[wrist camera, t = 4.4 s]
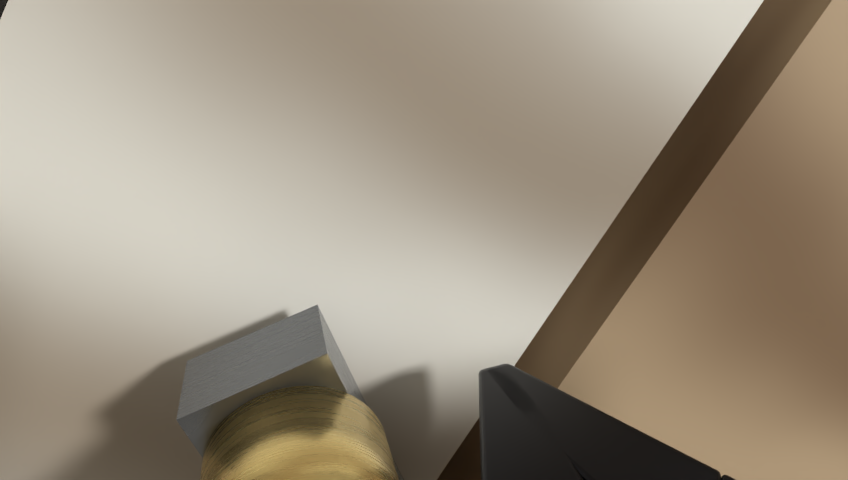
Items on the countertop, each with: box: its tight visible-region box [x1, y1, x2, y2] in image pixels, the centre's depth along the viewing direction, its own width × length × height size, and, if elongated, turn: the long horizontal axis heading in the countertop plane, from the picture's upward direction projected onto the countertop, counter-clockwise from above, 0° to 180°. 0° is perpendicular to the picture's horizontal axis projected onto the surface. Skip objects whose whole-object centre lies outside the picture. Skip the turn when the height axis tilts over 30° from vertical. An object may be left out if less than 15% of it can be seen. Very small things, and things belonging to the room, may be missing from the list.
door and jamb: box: [0, 0, 848, 480], centre depth 13 cm, size 23×19×7 cm
